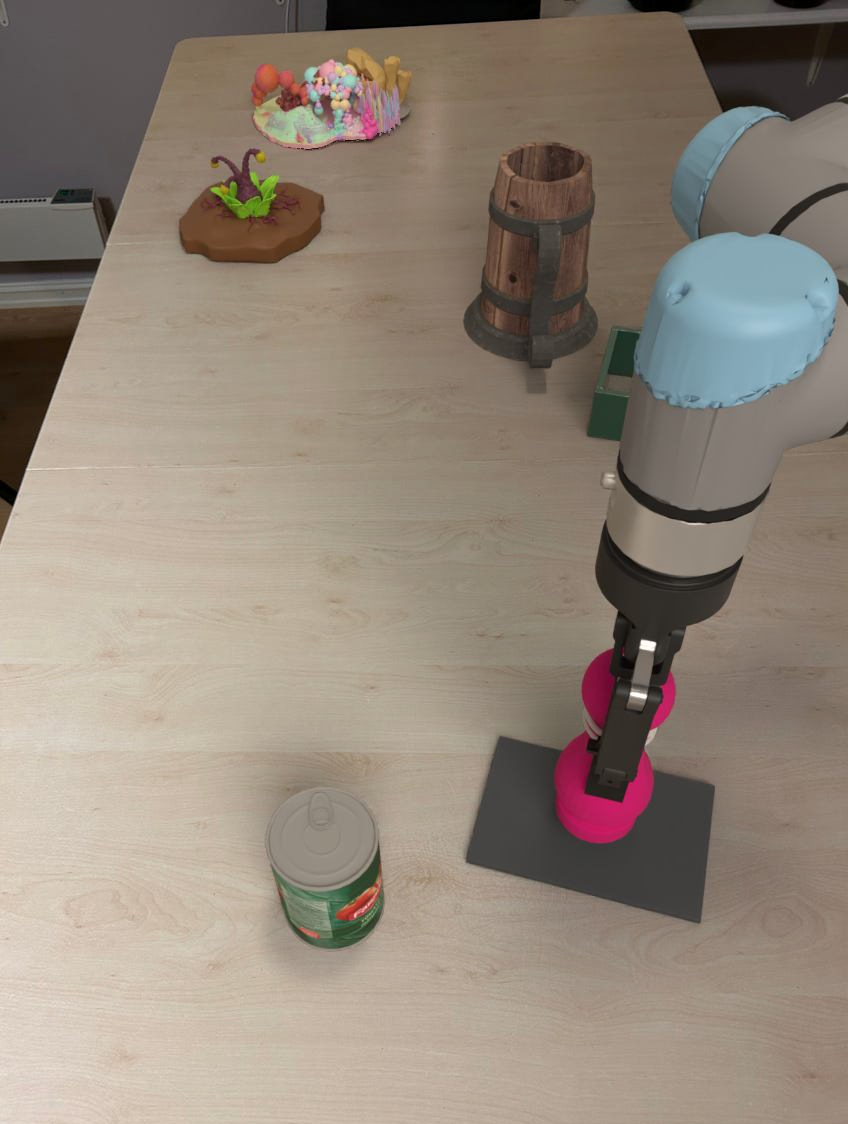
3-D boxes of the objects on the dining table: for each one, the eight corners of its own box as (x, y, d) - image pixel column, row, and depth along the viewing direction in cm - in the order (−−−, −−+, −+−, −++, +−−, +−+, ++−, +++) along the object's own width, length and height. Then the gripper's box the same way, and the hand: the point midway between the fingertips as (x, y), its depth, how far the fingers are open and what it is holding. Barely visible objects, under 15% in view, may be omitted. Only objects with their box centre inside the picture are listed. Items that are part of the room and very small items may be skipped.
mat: (713, 789, 79) (715, 785, 79) (699, 924, 72) (701, 921, 72) (498, 739, 83) (499, 735, 83) (465, 862, 76) (465, 859, 76)
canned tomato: (389, 946, 73) (383, 884, 64) (285, 956, 72) (265, 896, 64) (380, 850, 78) (374, 780, 69) (282, 859, 77) (264, 791, 69)
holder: (713, 384, 112) (726, 340, 107) (703, 454, 105) (716, 409, 100) (604, 369, 115) (612, 325, 110) (587, 436, 108) (594, 391, 103)
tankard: (462, 284, 128) (466, 128, 112) (591, 281, 127) (614, 123, 111) (465, 395, 113) (472, 233, 97) (611, 393, 112) (641, 229, 96)
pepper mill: (615, 757, 78) (662, 595, 63) (659, 833, 74) (721, 678, 58) (533, 783, 77) (560, 625, 62) (573, 862, 73) (613, 713, 57)
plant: (291, 273, 131) (281, 192, 123) (163, 254, 136) (144, 175, 127) (341, 201, 143) (335, 122, 134) (221, 186, 148) (208, 110, 139)
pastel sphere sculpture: (343, 74, 171) (339, 16, 164) (437, 113, 160) (437, 52, 153) (231, 122, 161) (222, 62, 154) (323, 167, 150) (318, 105, 143)
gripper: (627, 416, 58) (579, 652, 76) (575, 646, 47) (534, 857, 66) (757, 436, 56) (677, 673, 75) (733, 679, 46) (646, 886, 64)
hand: (610, 759), depth 70 cm, fingers closed on pepper mill, 5 cm apart
